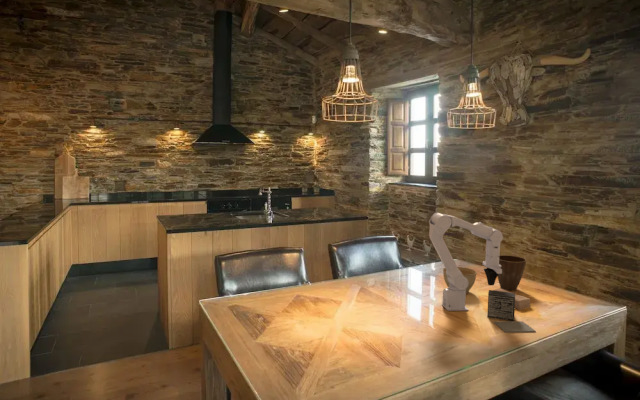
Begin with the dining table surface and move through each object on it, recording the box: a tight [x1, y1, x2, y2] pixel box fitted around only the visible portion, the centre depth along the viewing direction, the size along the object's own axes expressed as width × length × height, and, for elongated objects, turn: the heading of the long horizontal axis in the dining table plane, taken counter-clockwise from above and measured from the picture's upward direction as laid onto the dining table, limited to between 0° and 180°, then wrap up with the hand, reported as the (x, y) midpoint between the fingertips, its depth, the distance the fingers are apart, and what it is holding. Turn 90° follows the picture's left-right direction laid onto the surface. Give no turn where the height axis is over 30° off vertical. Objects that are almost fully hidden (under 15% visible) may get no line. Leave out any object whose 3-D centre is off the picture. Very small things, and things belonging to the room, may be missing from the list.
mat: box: [493, 320, 536, 333], centre depth 166 cm, size 12×10×1 cm
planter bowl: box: [442, 266, 478, 294], centre depth 210 cm, size 16×16×11 cm
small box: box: [486, 289, 516, 321], centre depth 177 cm, size 11×6×10 cm, turn 65°
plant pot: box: [497, 254, 527, 292], centre depth 216 cm, size 15×15×16 cm
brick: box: [493, 288, 531, 311], centre depth 195 cm, size 17×8×5 cm, turn 31°
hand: (490, 284), depth 188 cm, fingers closed
